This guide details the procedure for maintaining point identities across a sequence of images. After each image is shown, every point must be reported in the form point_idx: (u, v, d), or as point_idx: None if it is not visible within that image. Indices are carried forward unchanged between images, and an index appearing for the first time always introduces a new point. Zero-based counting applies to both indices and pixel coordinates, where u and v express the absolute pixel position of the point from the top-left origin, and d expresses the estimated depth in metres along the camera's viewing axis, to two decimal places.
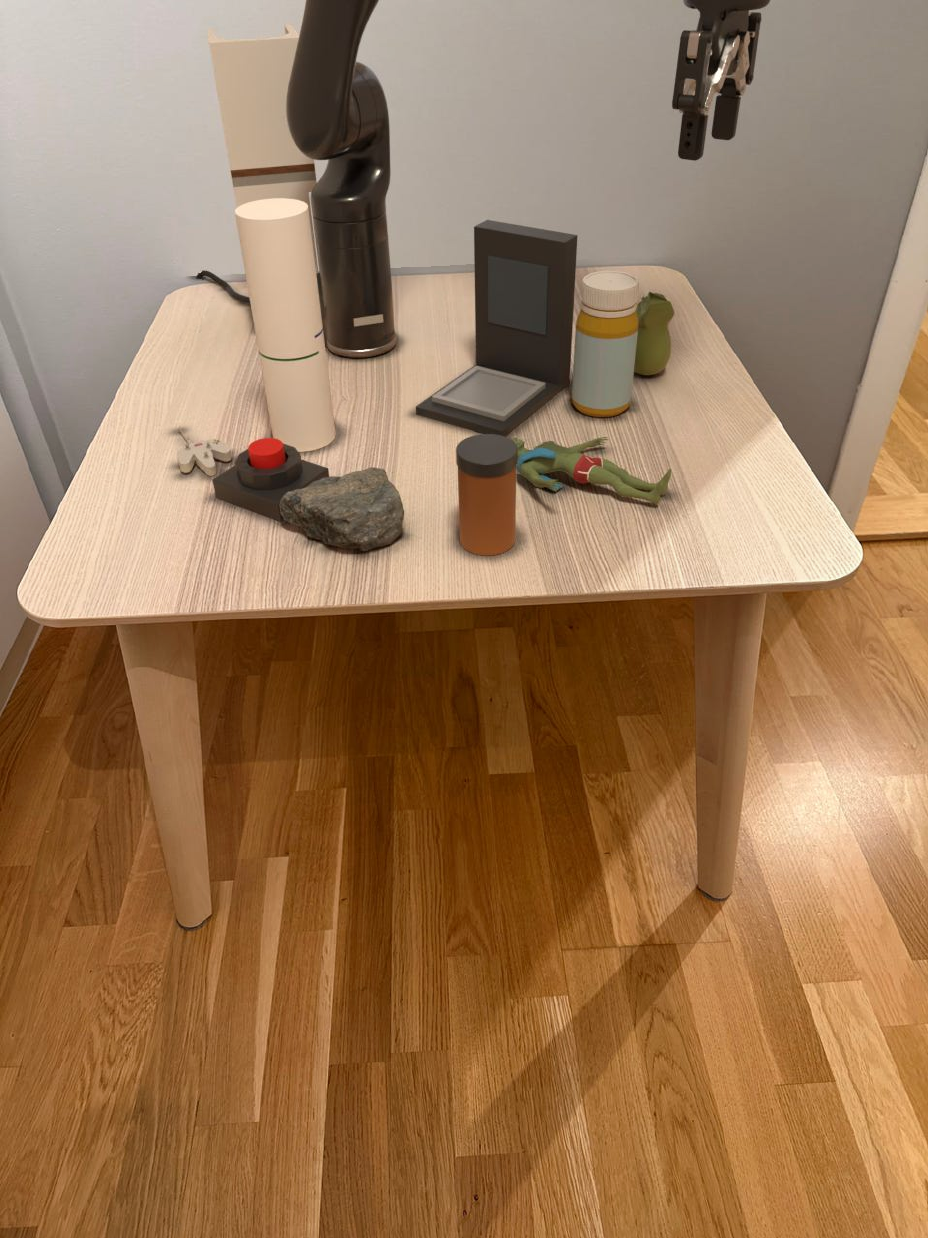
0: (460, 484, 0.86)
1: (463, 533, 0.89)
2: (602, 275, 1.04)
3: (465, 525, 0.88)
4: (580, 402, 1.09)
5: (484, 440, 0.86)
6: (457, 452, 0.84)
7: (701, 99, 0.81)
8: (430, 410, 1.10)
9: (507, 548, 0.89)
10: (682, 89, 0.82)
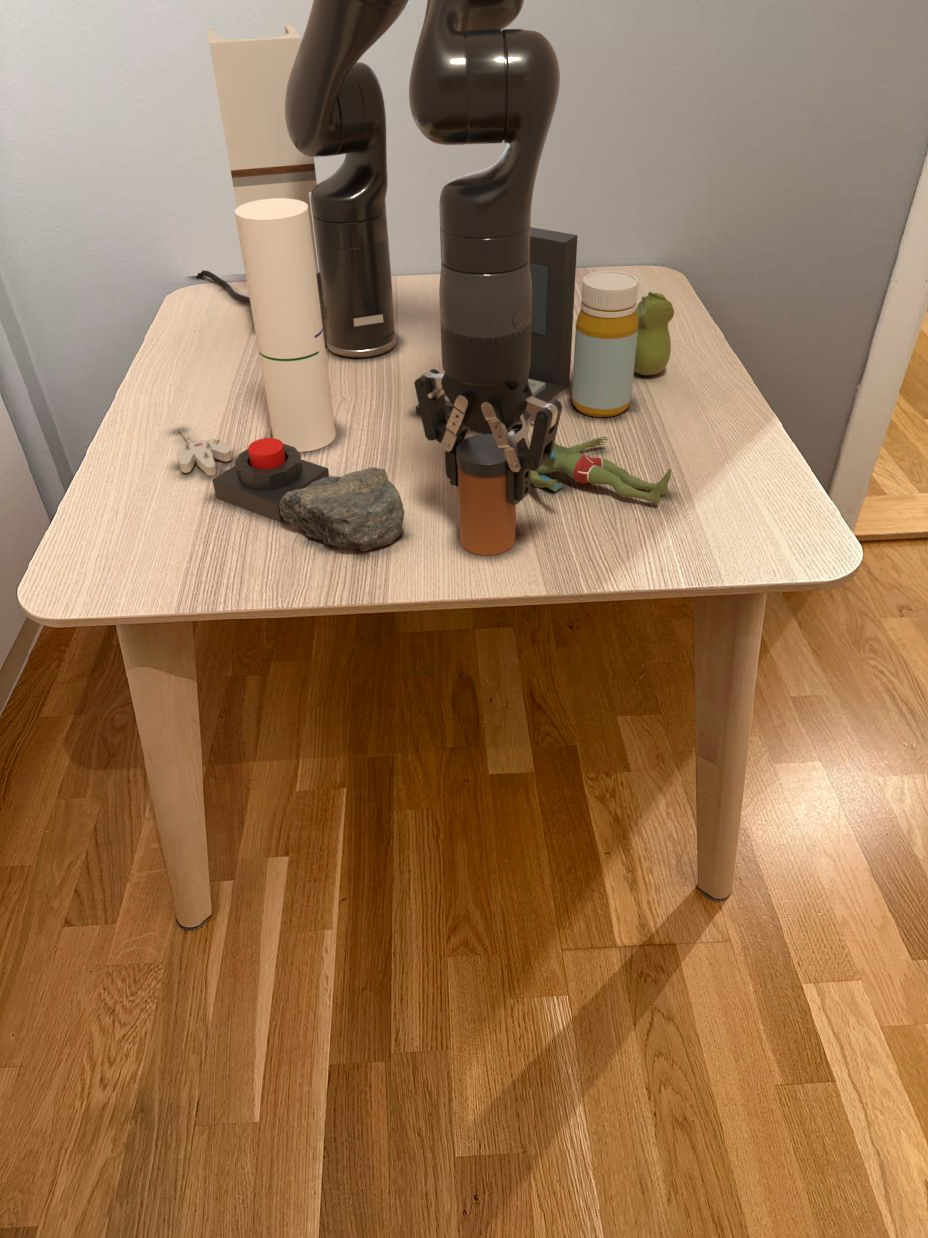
0: (460, 484, 0.86)
1: (463, 533, 0.89)
2: (602, 275, 1.04)
3: (465, 525, 0.88)
4: (580, 402, 1.09)
5: (484, 440, 0.86)
6: (457, 452, 0.84)
7: (429, 431, 0.85)
8: None
9: (507, 548, 0.89)
10: (441, 416, 0.86)
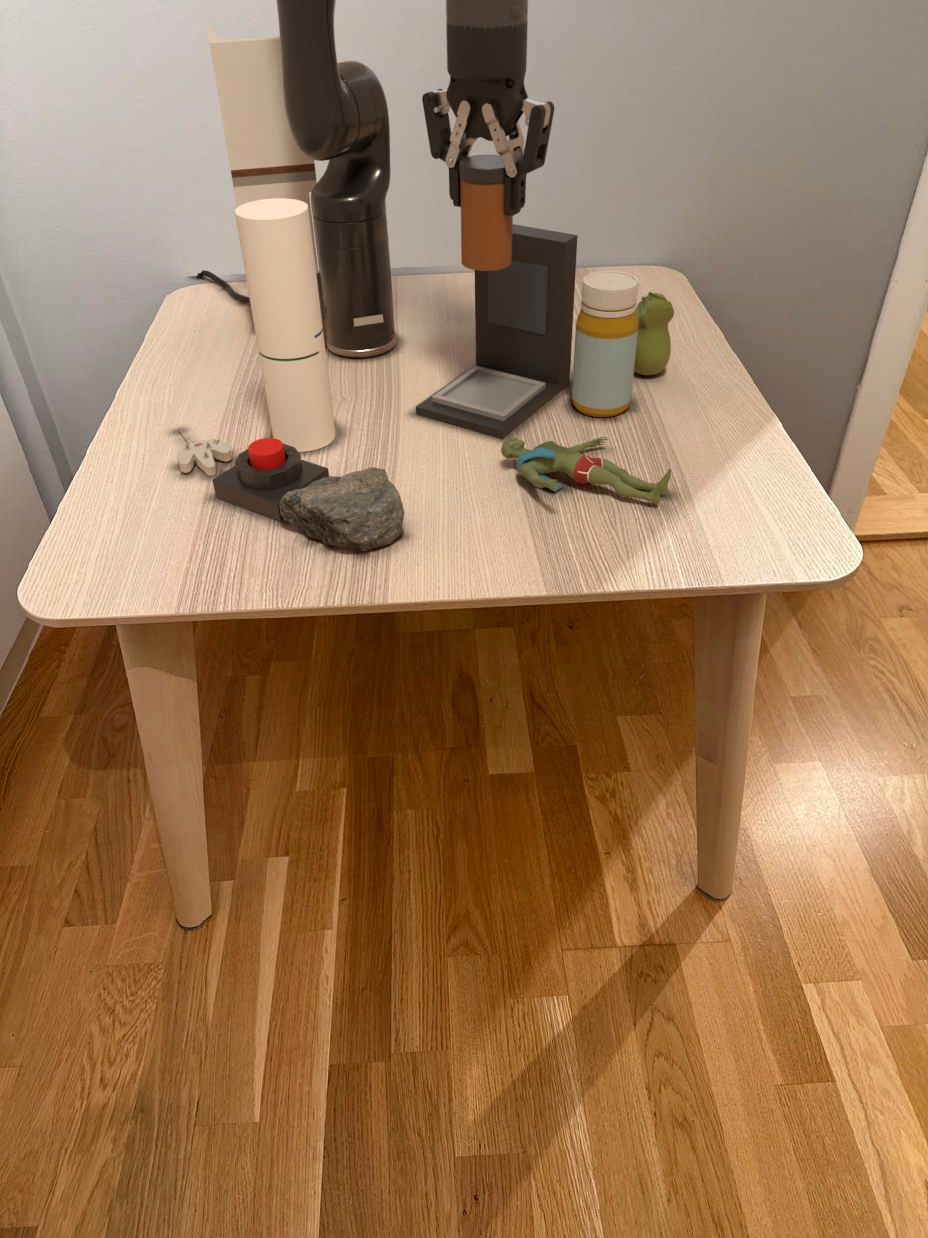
0: (462, 197, 0.95)
1: (464, 250, 0.98)
2: (602, 275, 1.04)
3: (466, 240, 0.97)
4: (580, 402, 1.09)
5: (485, 157, 0.95)
6: (460, 163, 0.93)
7: (435, 148, 0.95)
8: (430, 410, 1.10)
9: (504, 265, 0.98)
10: (446, 137, 0.95)
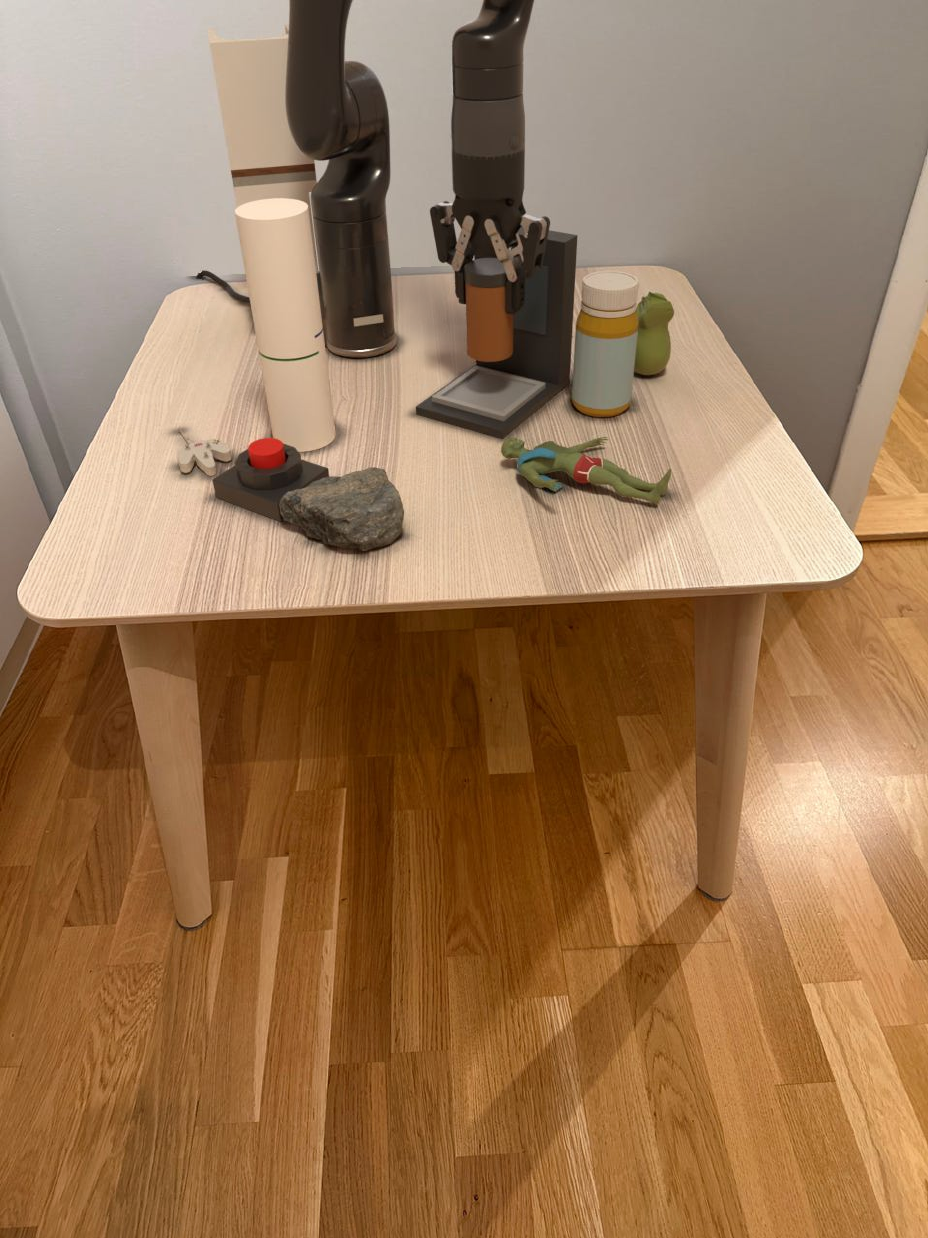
0: (467, 297, 1.04)
1: (469, 343, 1.07)
2: (602, 275, 1.04)
3: (471, 335, 1.06)
4: (580, 402, 1.09)
5: (487, 261, 1.04)
6: (465, 268, 1.02)
7: (442, 254, 1.04)
8: (430, 410, 1.10)
9: (506, 356, 1.08)
10: (451, 243, 1.05)
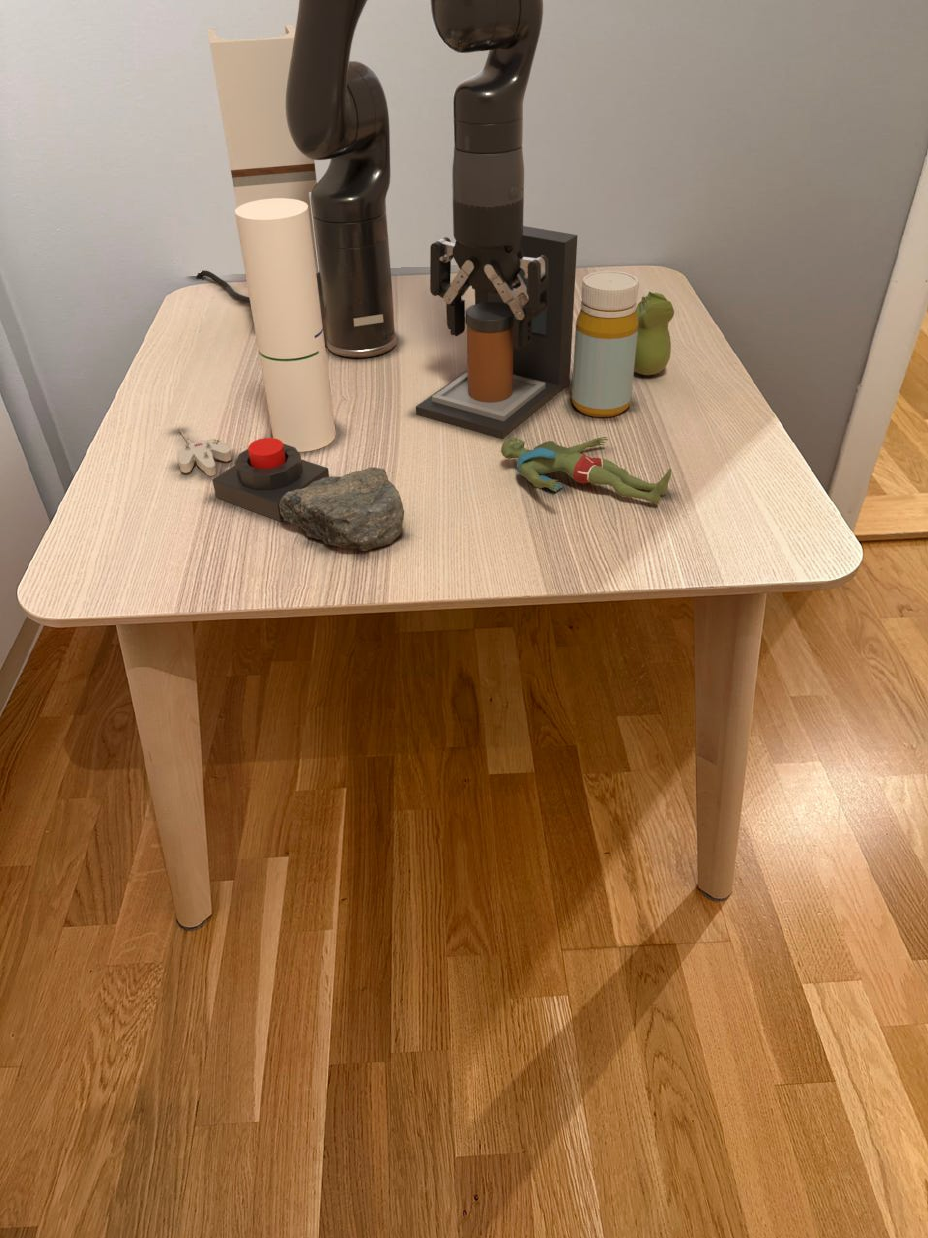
0: (469, 341, 1.07)
1: (471, 384, 1.10)
2: (602, 275, 1.04)
3: (472, 377, 1.09)
4: (580, 402, 1.09)
5: (488, 306, 1.07)
6: (466, 313, 1.06)
7: (434, 287, 1.07)
8: (430, 410, 1.10)
9: (506, 397, 1.11)
10: (445, 277, 1.08)
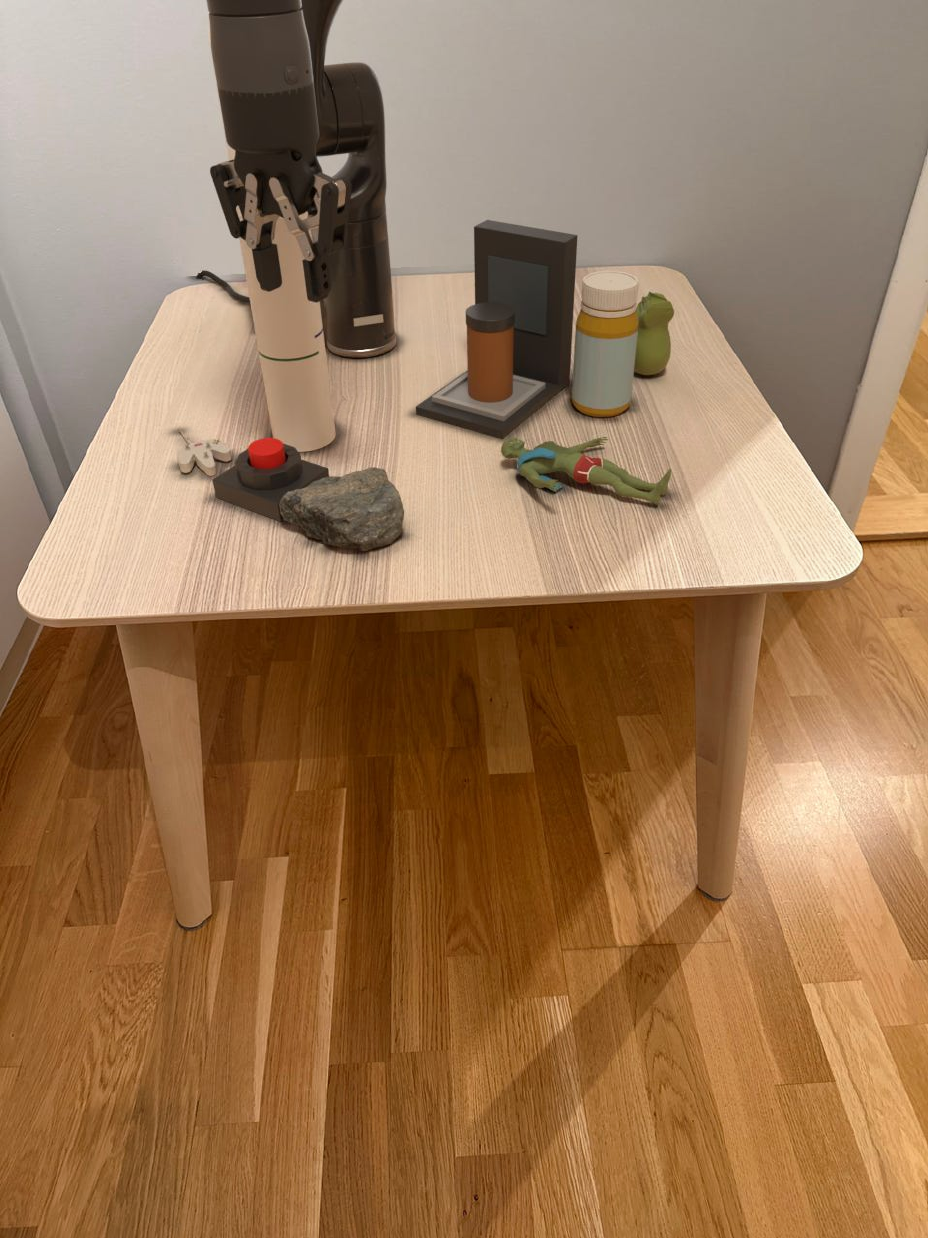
0: (469, 341, 1.07)
1: (471, 384, 1.10)
2: (602, 275, 1.04)
3: (472, 377, 1.09)
4: (580, 402, 1.09)
5: (488, 306, 1.07)
6: (466, 313, 1.06)
7: (233, 227, 0.82)
8: (430, 410, 1.10)
9: (506, 397, 1.11)
10: None
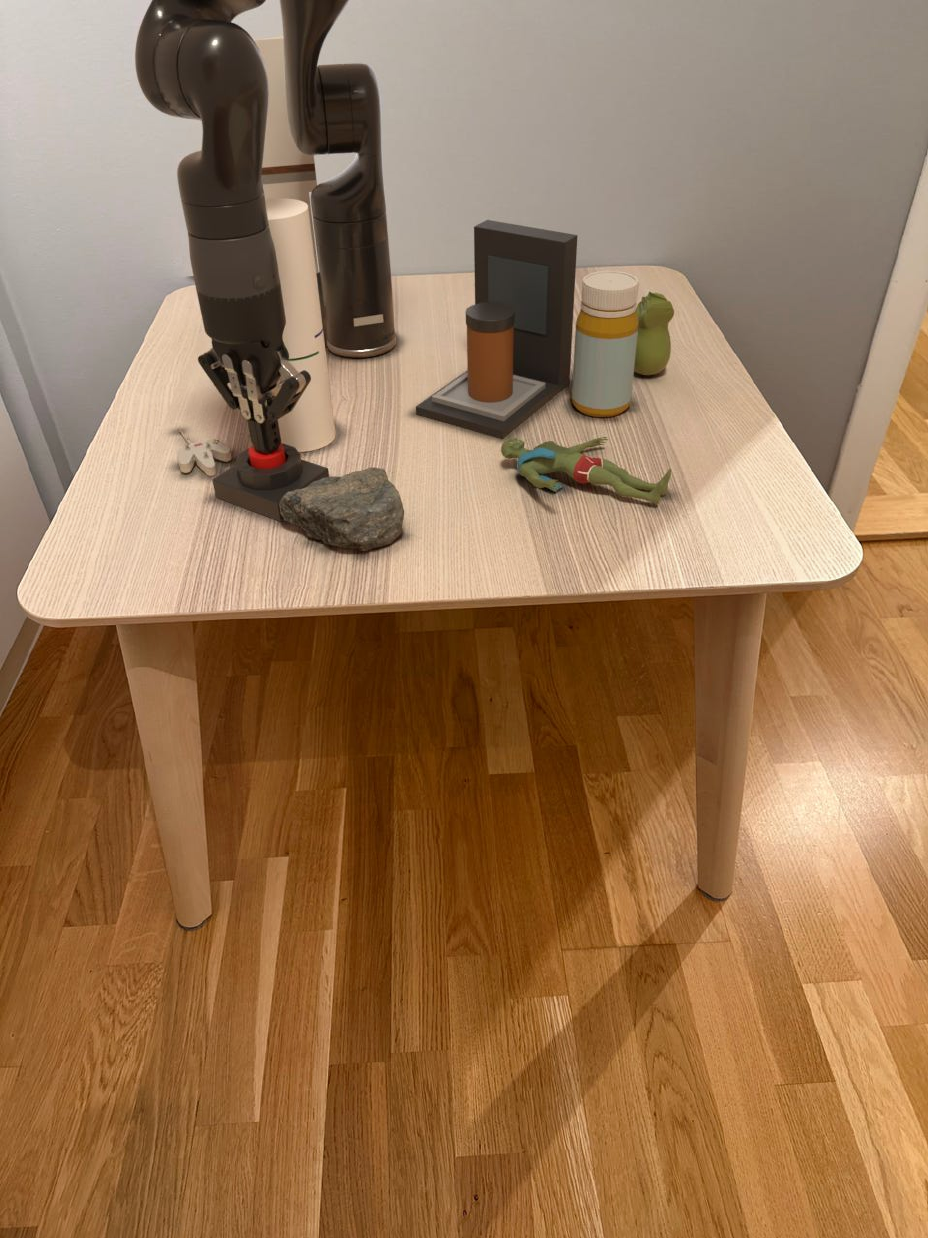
0: (469, 341, 1.07)
1: (471, 384, 1.10)
2: (602, 275, 1.04)
3: (472, 377, 1.09)
4: (580, 402, 1.09)
5: (488, 306, 1.07)
6: (466, 313, 1.06)
7: (229, 400, 0.92)
8: (430, 410, 1.10)
9: (506, 397, 1.11)
10: None
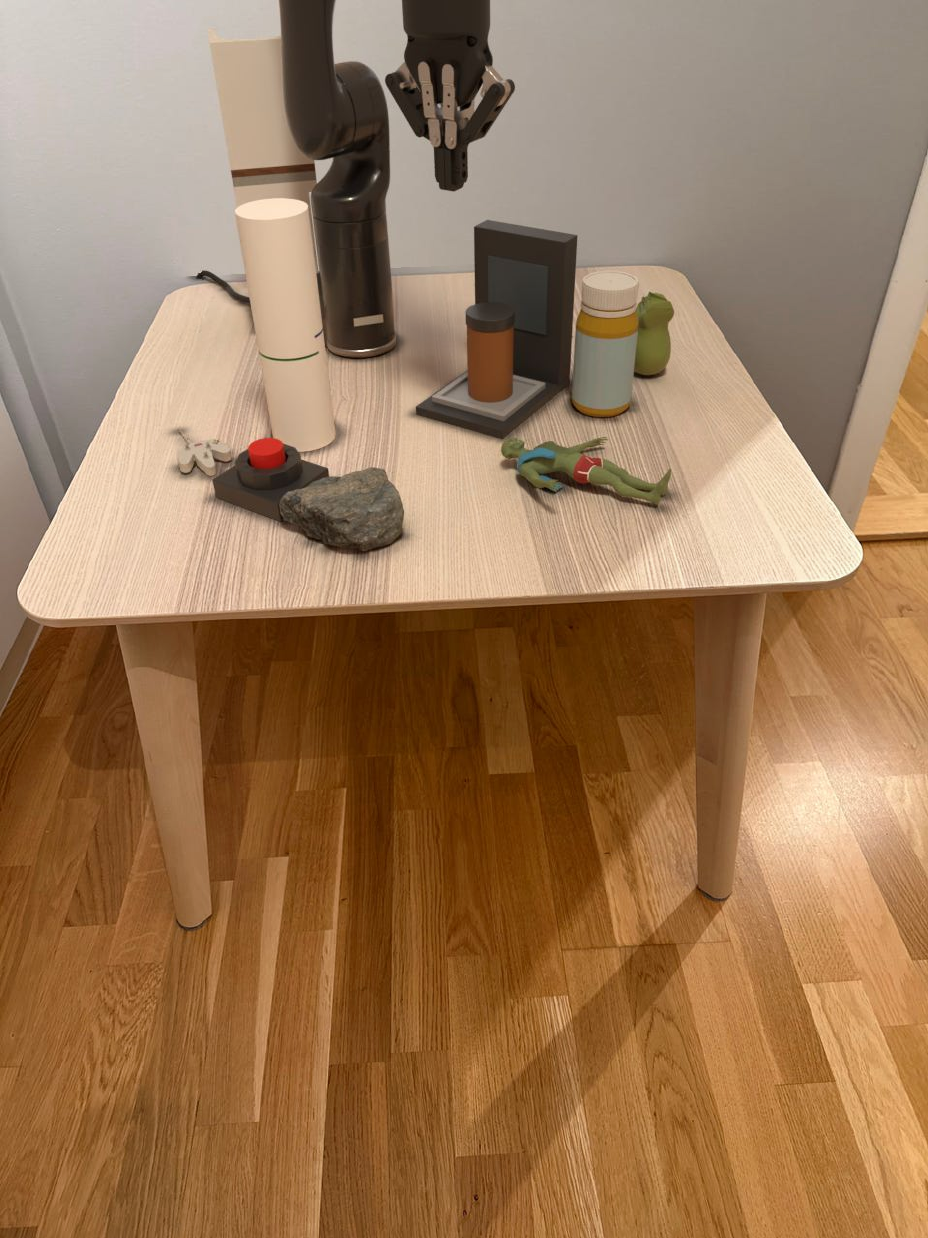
0: (469, 341, 1.07)
1: (471, 384, 1.10)
2: (602, 275, 1.04)
3: (472, 377, 1.09)
4: (580, 402, 1.09)
5: (488, 306, 1.07)
6: (466, 313, 1.06)
7: (417, 126, 0.86)
8: (430, 410, 1.10)
9: (506, 397, 1.11)
10: None
